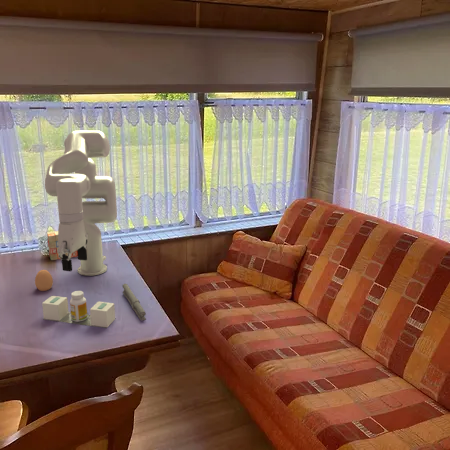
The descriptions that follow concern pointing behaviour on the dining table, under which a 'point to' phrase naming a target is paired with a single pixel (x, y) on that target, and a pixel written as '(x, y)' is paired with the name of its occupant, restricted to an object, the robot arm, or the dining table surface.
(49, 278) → the egg
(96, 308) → the module
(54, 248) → the stack of blocks
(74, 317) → the supplement bottle
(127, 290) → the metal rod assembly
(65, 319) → the rail
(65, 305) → the block
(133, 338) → the dining table surface
